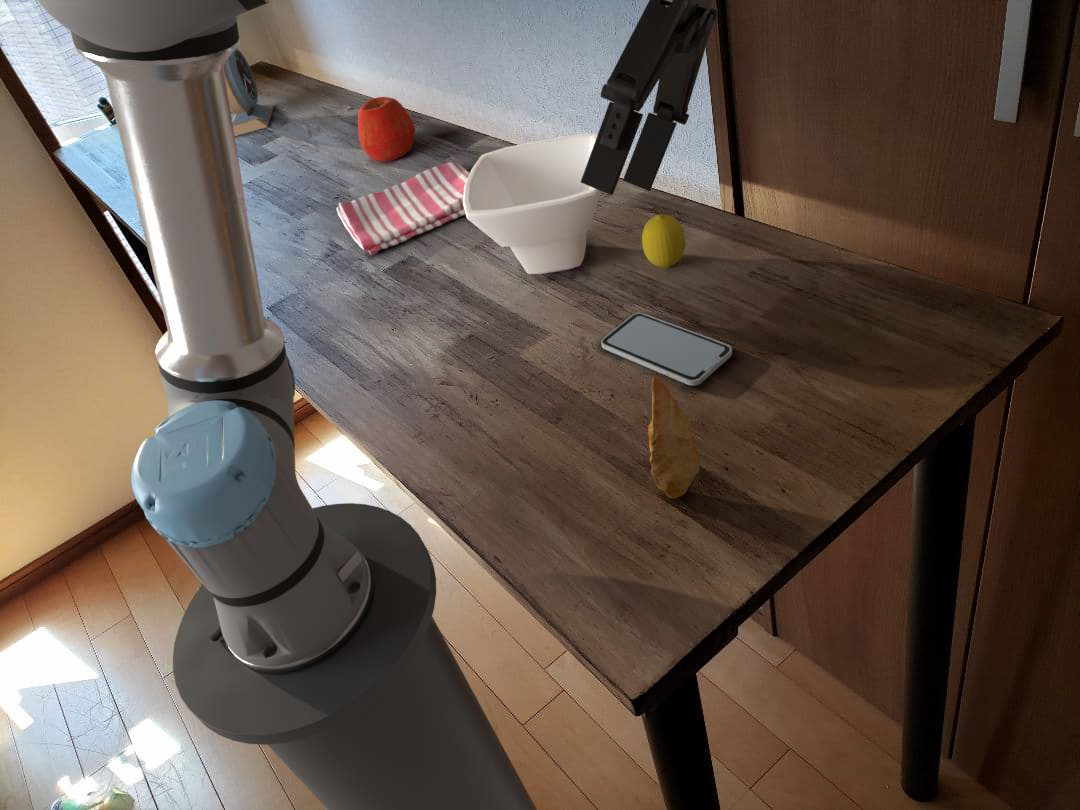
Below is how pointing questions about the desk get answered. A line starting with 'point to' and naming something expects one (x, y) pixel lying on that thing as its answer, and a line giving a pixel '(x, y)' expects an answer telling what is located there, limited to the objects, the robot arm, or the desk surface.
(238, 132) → the alarm clock
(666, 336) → the smartphone
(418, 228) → the dish towel
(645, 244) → the lemon
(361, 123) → the apple
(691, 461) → the stone tool
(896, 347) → the desk surface
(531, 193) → the bowl
